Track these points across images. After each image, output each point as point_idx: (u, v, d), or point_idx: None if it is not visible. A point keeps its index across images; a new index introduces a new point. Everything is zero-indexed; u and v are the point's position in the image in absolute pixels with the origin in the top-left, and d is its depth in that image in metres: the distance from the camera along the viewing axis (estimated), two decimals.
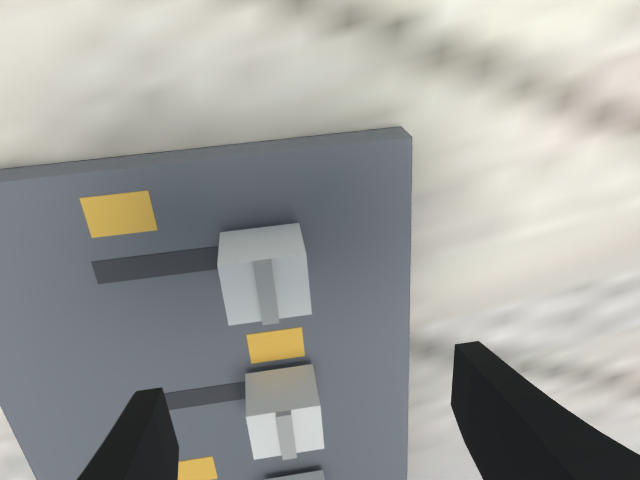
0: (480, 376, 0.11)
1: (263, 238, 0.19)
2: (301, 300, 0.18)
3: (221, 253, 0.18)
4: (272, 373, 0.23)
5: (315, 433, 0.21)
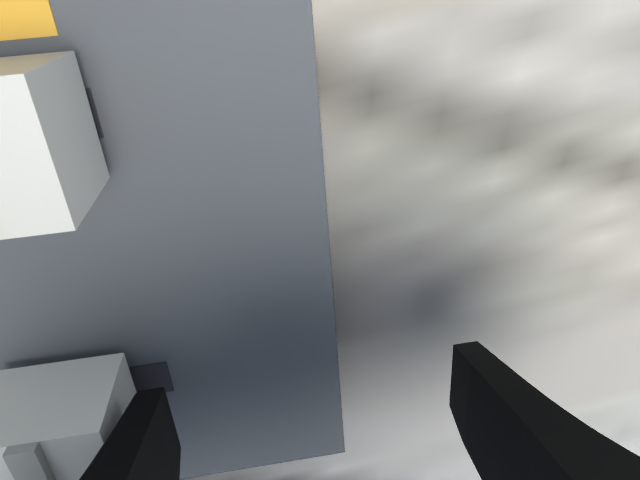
0: (478, 376, 0.11)
1: None
2: None
3: None
4: None
5: (36, 177, 0.08)
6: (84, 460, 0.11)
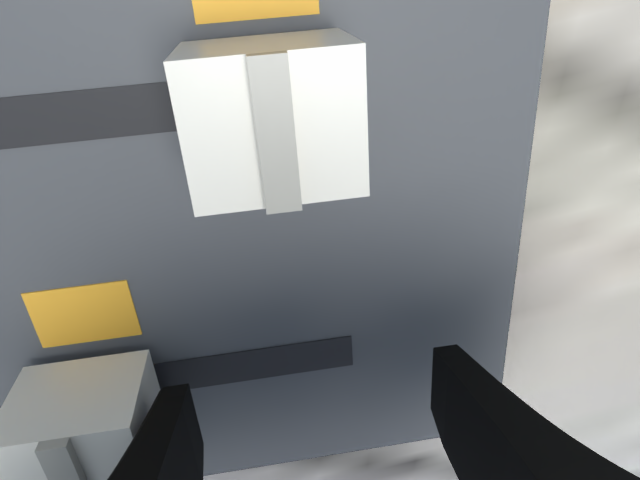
0: (456, 380, 0.11)
1: None
2: None
3: None
4: (244, 38, 0.10)
5: (349, 143, 0.08)
6: (114, 456, 0.11)
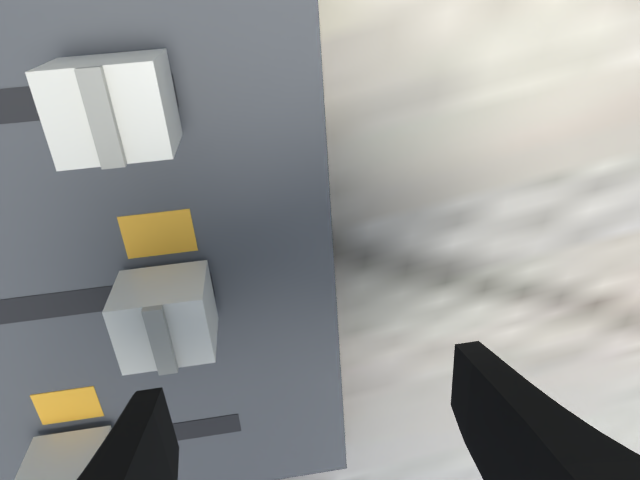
0: (480, 376, 0.11)
1: (107, 57, 0.14)
2: (155, 135, 0.13)
3: (41, 66, 0.13)
4: (153, 269, 0.18)
5: (200, 340, 0.16)
6: None
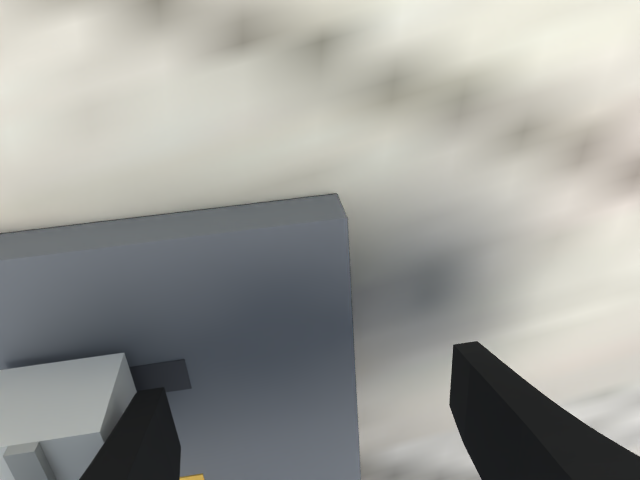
0: (478, 376, 0.11)
1: (52, 389, 0.12)
2: None
3: None
4: None
5: None
6: None
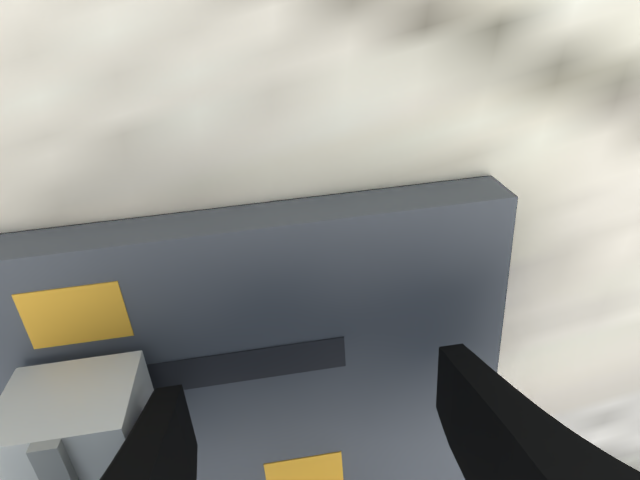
0: (462, 379, 0.11)
1: (72, 386, 0.12)
2: None
3: None
4: None
5: None
6: None
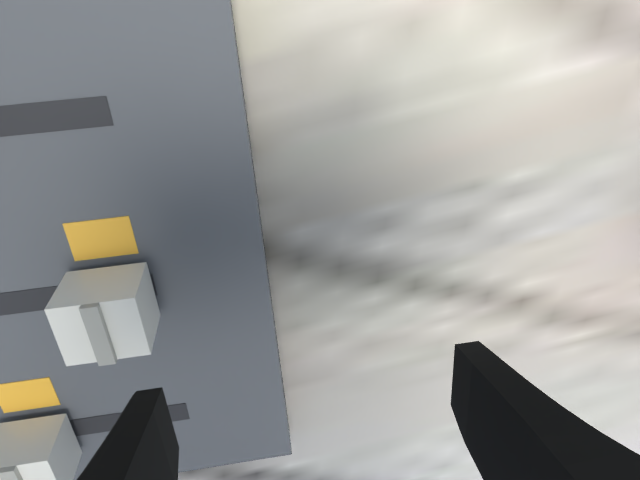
0: (480, 376, 0.11)
1: None
2: None
3: None
4: (97, 271, 0.19)
5: (135, 334, 0.18)
6: (40, 475, 0.21)
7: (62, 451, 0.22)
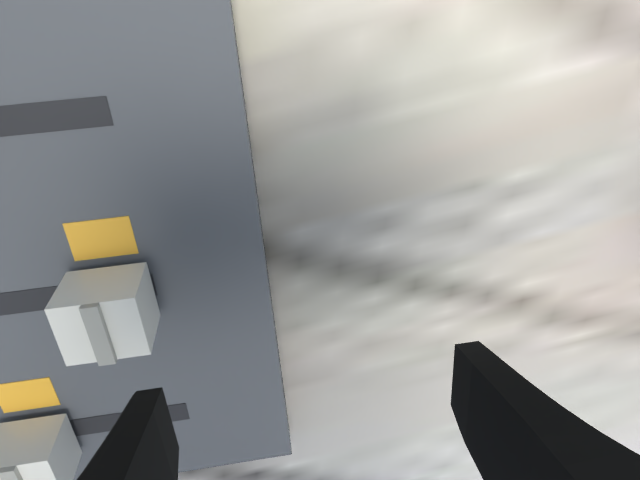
0: (480, 376, 0.11)
1: None
2: None
3: None
4: (97, 271, 0.19)
5: (135, 334, 0.18)
6: (40, 475, 0.21)
7: (62, 451, 0.22)
